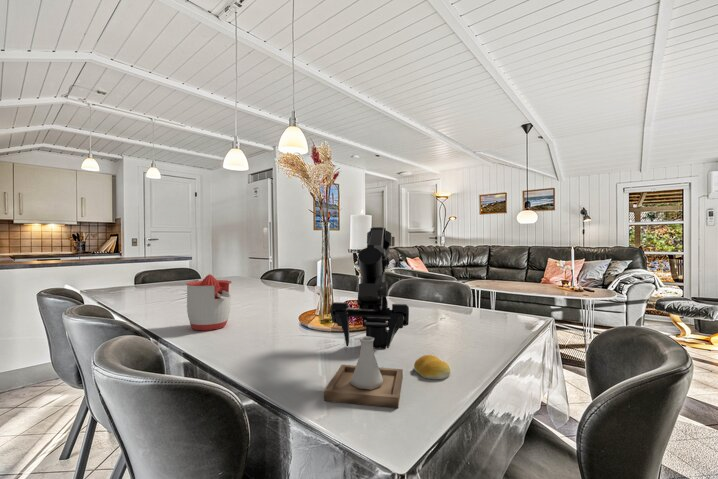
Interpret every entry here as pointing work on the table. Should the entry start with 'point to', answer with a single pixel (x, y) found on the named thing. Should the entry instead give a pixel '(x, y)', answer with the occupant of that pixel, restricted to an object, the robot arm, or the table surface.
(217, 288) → the citrus juicer
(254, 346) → the table surface
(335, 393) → the walnut tray
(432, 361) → the bread roll
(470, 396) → the table surface
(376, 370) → the flask
